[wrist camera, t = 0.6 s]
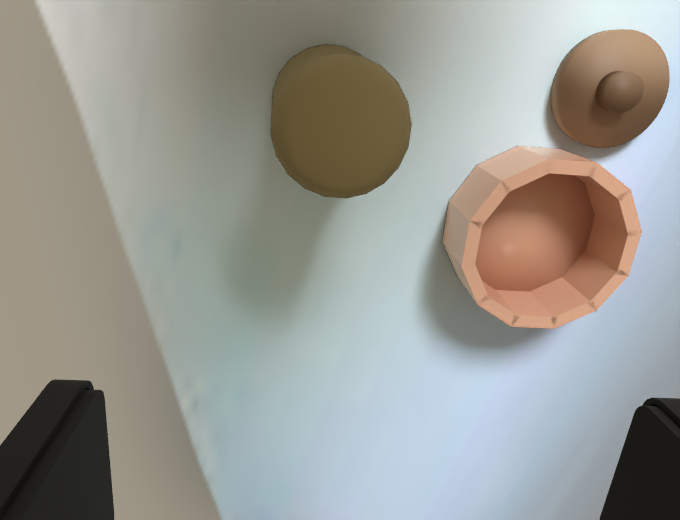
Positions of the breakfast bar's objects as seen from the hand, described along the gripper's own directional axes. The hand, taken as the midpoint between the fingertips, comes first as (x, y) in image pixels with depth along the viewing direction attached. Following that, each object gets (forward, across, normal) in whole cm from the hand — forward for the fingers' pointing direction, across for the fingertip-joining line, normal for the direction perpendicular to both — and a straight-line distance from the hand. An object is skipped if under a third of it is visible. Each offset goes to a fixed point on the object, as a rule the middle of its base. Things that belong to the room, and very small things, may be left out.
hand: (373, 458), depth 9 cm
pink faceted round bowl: (+22, -12, +2) cm, 25 cm away
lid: (+22, -15, -6) cm, 28 cm away
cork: (+22, 0, -4) cm, 23 cm away
